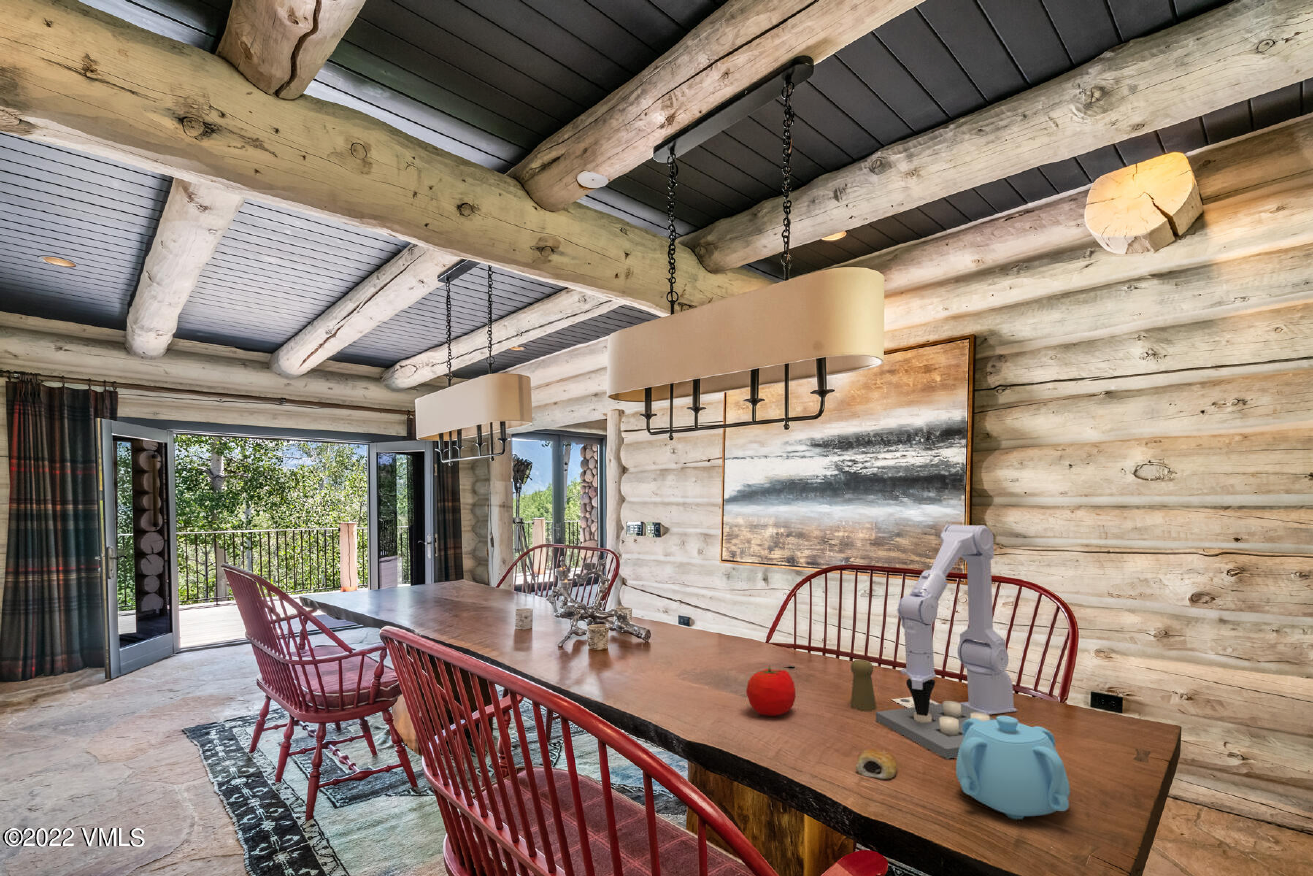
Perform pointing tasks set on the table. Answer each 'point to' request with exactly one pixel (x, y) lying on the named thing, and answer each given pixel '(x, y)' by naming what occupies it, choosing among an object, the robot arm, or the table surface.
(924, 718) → the button
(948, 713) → the button
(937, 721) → the board
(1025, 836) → the table surface
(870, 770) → the pastry
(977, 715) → the button
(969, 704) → the robot arm
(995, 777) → the decorative pot
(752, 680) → the tomato
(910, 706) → the card
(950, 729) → the button
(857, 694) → the olive pawn figure
